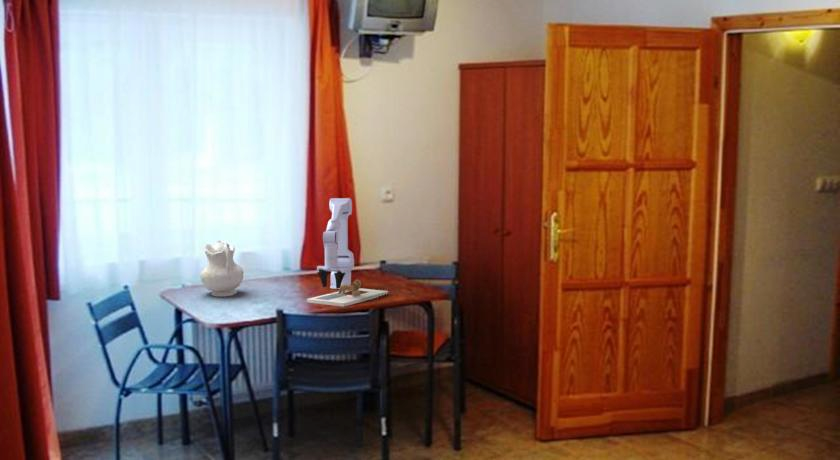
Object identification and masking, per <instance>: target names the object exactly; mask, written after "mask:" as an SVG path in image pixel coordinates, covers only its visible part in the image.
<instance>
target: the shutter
mask: <svg viewBox="0 0 840 460" xmlns="http://www.w3.org/2000/svg"><path fill="white" fill-rule="evenodd" d="M375 290H376V291H372V292H365V293H361V291H360V290H357V291H354V292H353V298H360V299H365V298H369V297H373V296H377V295H380V294H384V293H387V294H389V291H388V290H383V289H381V290H380V289H375Z"/></svg>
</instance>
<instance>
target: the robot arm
mask: <svg viewBox="0 0 840 460" xmlns="http://www.w3.org/2000/svg"><path fill="white" fill-rule="evenodd" d="M328 205H329V210H330V212H331V218H330V219H329V220H328V222H327V225H326V230H325V231H323V233H322V241H323V248H324V265H318V266H316V271H317V272H316V273H317V275H318V277H319V279H320V281H321V285H322V287H323V288H327V285H328V274H329V272H330V287H329V288H330V289H332V290H333V289H335V290H339V288H340V287H341V285H351V284H352V270H353V269H354V267H355V258H354V257H355V256H354V253H353V252H352V251H351V250H349V242H348V241H349V237H348V235H349V233H348V229H349V228H348V227H349V226H348V222H349V221H348V219H349V216H350V215H352V213H353V200H352V199H351V198H350V197H345V198H344V197H343V198H338V197H334V198H333V197H331V198H330V199H329V204H328Z"/></svg>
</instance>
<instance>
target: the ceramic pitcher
mask: <svg viewBox="0 0 840 460" xmlns="http://www.w3.org/2000/svg"><path fill="white" fill-rule="evenodd" d="M235 251H236V248H235V247H234V246H233V245H230V244H228V242H226V241H224V240H218V241H216V243H215V244H214V245H212V244H211V243H206V244H205V245H204V253H205V255H206V257H207V265H206V266H205V267H204V268H203V269H202V270H201V272H200V281H201V283H202V285H203V287H204V288H205V289H207V290H208V291H210V292H212V293H211V296H214V297H230V296H234V295H236V294H238V291H237V290H236V289H237V288H238V287H239V286H240V285H241V284H242V283H243V280H244V270H243V268H242V266H240V265H239V264H237V263H236V262H235V261H234V254H235Z"/></svg>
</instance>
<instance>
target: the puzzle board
mask: <svg viewBox="0 0 840 460" xmlns="http://www.w3.org/2000/svg"><path fill="white" fill-rule="evenodd" d="M376 290H377V289H370V288H363V287H362V288H361V287H360V288H359V290H358V291H360V292H361V291H362V292H366V293H368V292H372V291H376ZM350 292H351V291H347V290H346V291H345V295H344V294H343V292H341V293H340V294H338V293H339V290H338V291H334V292H330V293H326V294H322V295H317V296H314V297H309V298H306V303H309V304H319V305H326V306H335V307H343V308H344V307H347V306H350V305H355V304H358V303H362V302H366V301H370V300H373V299H377V298H380V297H382V295H383V296H385V294H386V295H387V294H388V293H384V294H380V295H377V296H373V297H369V298H365V299H360V298H353V295H352V294H347V293H350ZM379 296H380V297H379Z"/></svg>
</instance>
